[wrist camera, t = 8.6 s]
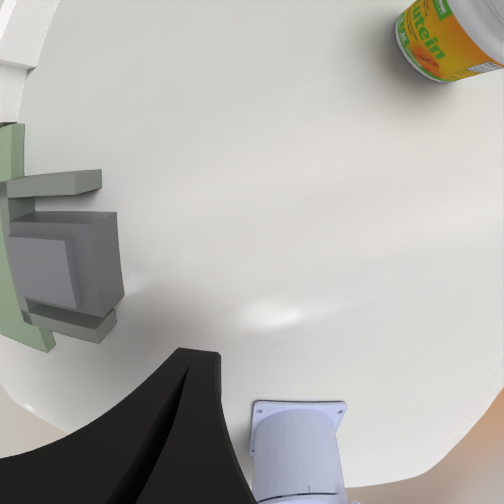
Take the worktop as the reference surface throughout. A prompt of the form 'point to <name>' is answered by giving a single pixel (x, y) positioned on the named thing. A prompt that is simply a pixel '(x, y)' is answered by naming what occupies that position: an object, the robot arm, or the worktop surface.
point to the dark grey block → (67, 259)
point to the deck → (3, 282)
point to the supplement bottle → (452, 37)
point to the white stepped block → (20, 48)
